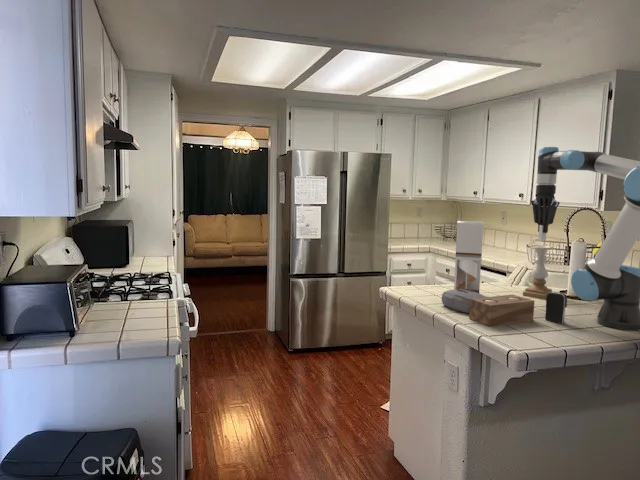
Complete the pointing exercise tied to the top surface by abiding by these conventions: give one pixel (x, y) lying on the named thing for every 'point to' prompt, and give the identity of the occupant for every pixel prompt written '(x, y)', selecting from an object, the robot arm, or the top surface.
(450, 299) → the soft grey pack
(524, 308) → the collar block
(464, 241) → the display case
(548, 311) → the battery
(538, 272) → the candle holder
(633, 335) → the top surface
